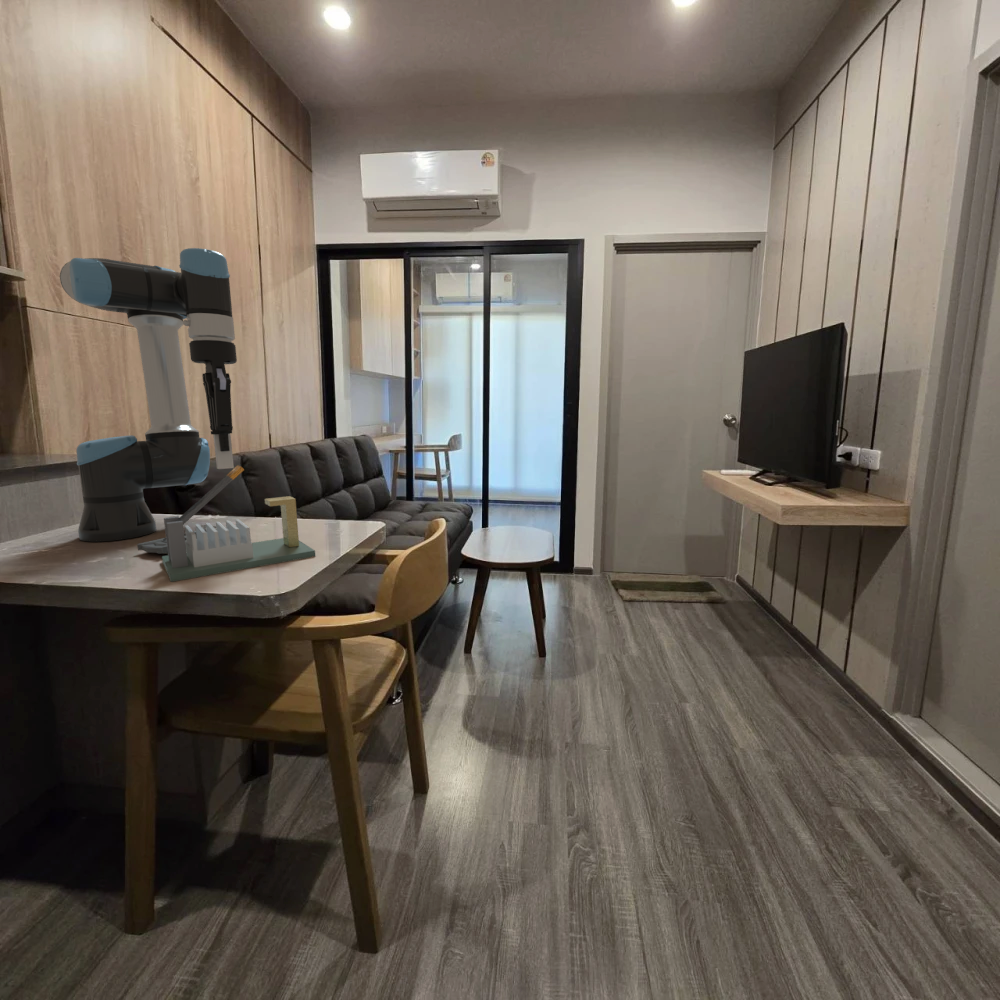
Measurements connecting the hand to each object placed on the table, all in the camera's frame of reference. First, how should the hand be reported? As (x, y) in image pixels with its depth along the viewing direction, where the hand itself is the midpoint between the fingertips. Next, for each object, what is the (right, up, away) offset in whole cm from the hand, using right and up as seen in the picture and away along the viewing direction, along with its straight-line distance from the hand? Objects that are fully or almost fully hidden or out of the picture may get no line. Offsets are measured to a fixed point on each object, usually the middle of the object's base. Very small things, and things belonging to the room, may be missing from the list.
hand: (225, 468), depth 100 cm
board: (+1, -18, +4) cm, 18 cm away
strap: (-2, -6, -1) cm, 7 cm away
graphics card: (-16, -17, +14) cm, 27 cm away
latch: (+8, -16, +9) cm, 20 cm away
